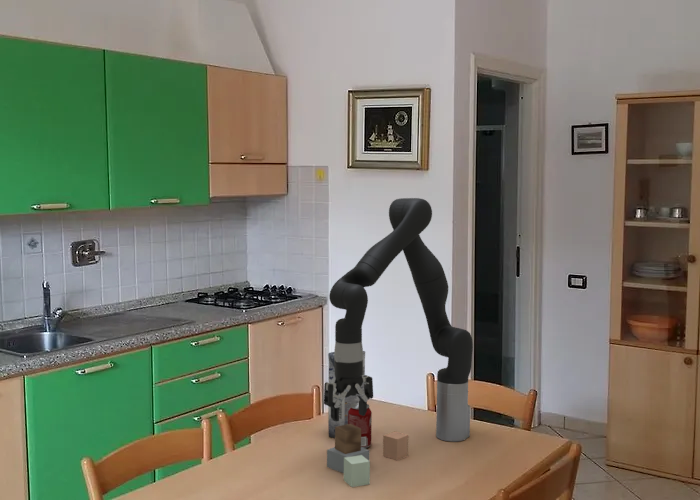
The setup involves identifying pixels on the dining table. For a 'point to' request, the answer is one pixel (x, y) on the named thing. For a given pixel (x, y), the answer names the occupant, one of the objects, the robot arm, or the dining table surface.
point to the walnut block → (348, 438)
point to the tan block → (395, 445)
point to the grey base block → (342, 458)
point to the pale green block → (356, 471)
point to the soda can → (361, 423)
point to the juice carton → (346, 402)
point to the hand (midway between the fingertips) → (348, 417)
